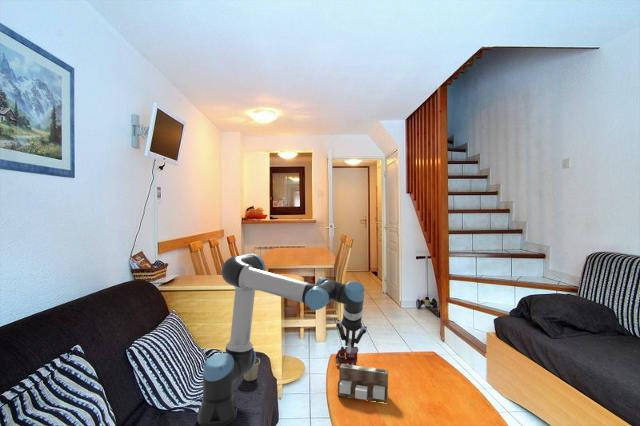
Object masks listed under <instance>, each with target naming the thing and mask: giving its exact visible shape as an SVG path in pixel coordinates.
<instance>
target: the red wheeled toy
mask: <svg viewBox="0 0 640 426" xmlns="http://www.w3.org/2000/svg"><path fill="white" fill-rule="evenodd" d="M358 352H359V348H358V346H354V347H353V348H352V347H351V352H350V353H348V352H347V346H345V347H344V346H341V347H340V349H338V350H337V353H336V355H335V364H337V365H339V366H340V365H341V364H348V365H355V366H357V363H358Z"/></svg>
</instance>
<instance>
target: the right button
mask: <svg viewBox="0 0 640 426" xmlns="http://www.w3.org/2000/svg"><path fill="white" fill-rule="evenodd" d="M373 398H375V399H381V400H384V399H385V387H384V386H377V385H374V387H373Z"/></svg>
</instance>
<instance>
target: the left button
mask: <svg viewBox="0 0 640 426" xmlns="http://www.w3.org/2000/svg"><path fill="white" fill-rule="evenodd" d="M351 391H352V382H351V381H344V380H341V382H340V386H339V393H344V394H351Z"/></svg>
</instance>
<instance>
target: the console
mask: <svg viewBox="0 0 640 426" xmlns="http://www.w3.org/2000/svg"><path fill="white" fill-rule="evenodd" d="M338 369H339V372H338V373H339V377H338V380H337V397H339V396H342V397H341V398H345V397H350V398H349V399H351V398H355V389H356V385H360V386H367V387H368V396H367V400H368V401H367V402H369V401H376V402H384V403H387V404H388V399H387V397H389V370H388V369H382V368H377V367H370V366H361V365H356V366H355V365H349V364H348V363H347V364H341V365H339V368H338ZM341 380H344V381H351V382H352V391H351V394H344V393H339V386H340V382H341ZM374 385H377V386H384V387H385V399H384V400H381V399H375V398H373V387H374ZM363 400H364V399H362V400H361V401H363Z"/></svg>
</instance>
